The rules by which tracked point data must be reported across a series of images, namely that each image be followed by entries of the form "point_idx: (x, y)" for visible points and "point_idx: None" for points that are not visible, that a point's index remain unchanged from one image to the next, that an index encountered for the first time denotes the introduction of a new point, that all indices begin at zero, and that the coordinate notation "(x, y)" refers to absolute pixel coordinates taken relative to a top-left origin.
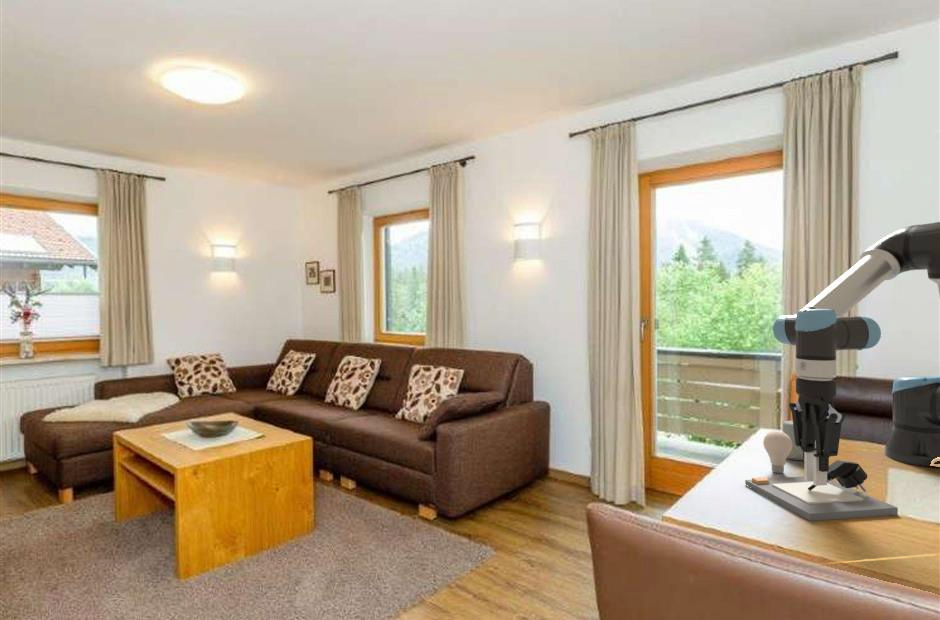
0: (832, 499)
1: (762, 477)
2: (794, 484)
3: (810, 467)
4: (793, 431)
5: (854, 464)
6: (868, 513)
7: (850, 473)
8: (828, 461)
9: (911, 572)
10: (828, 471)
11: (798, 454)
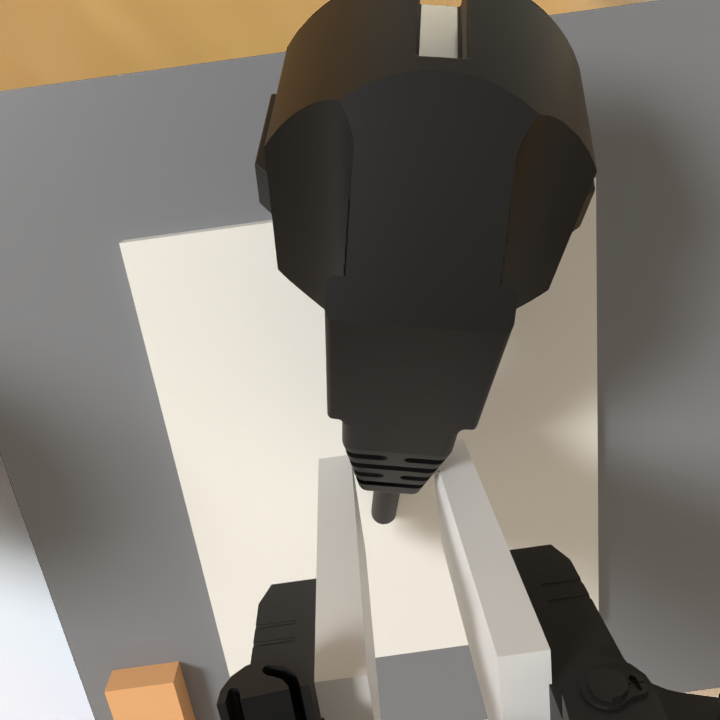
0: (576, 445)
1: (113, 701)
2: (235, 534)
3: (369, 614)
4: None
5: (512, 165)
6: None
7: (534, 254)
8: (606, 633)
9: None
10: (421, 444)
11: None
